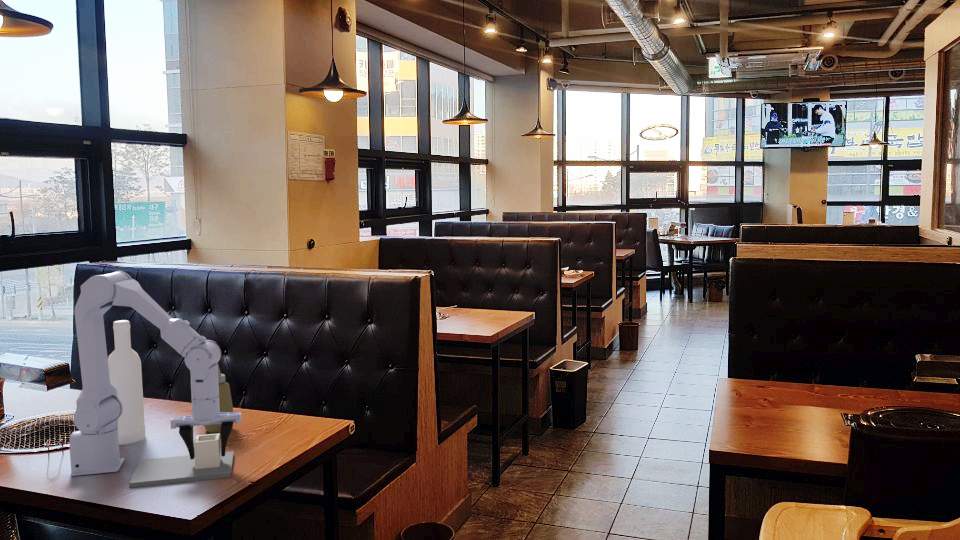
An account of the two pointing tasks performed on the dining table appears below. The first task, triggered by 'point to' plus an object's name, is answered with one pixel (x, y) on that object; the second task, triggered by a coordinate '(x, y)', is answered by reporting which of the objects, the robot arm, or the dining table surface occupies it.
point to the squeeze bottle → (222, 401)
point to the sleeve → (207, 451)
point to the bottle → (127, 385)
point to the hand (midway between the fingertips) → (208, 456)
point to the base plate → (178, 470)
